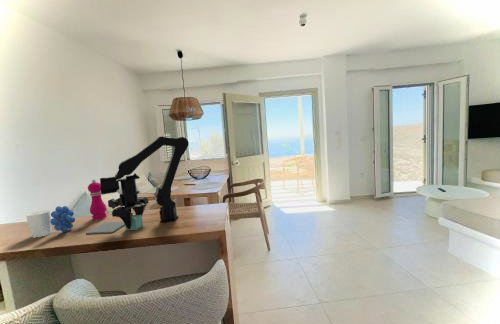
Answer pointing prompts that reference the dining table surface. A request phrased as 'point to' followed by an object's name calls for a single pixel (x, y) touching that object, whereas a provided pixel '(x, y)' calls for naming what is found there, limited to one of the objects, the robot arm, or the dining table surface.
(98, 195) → the pepper mill
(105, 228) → the gray mat
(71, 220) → the grapes
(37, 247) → the dining table surface
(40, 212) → the white cup
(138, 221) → the teal block
